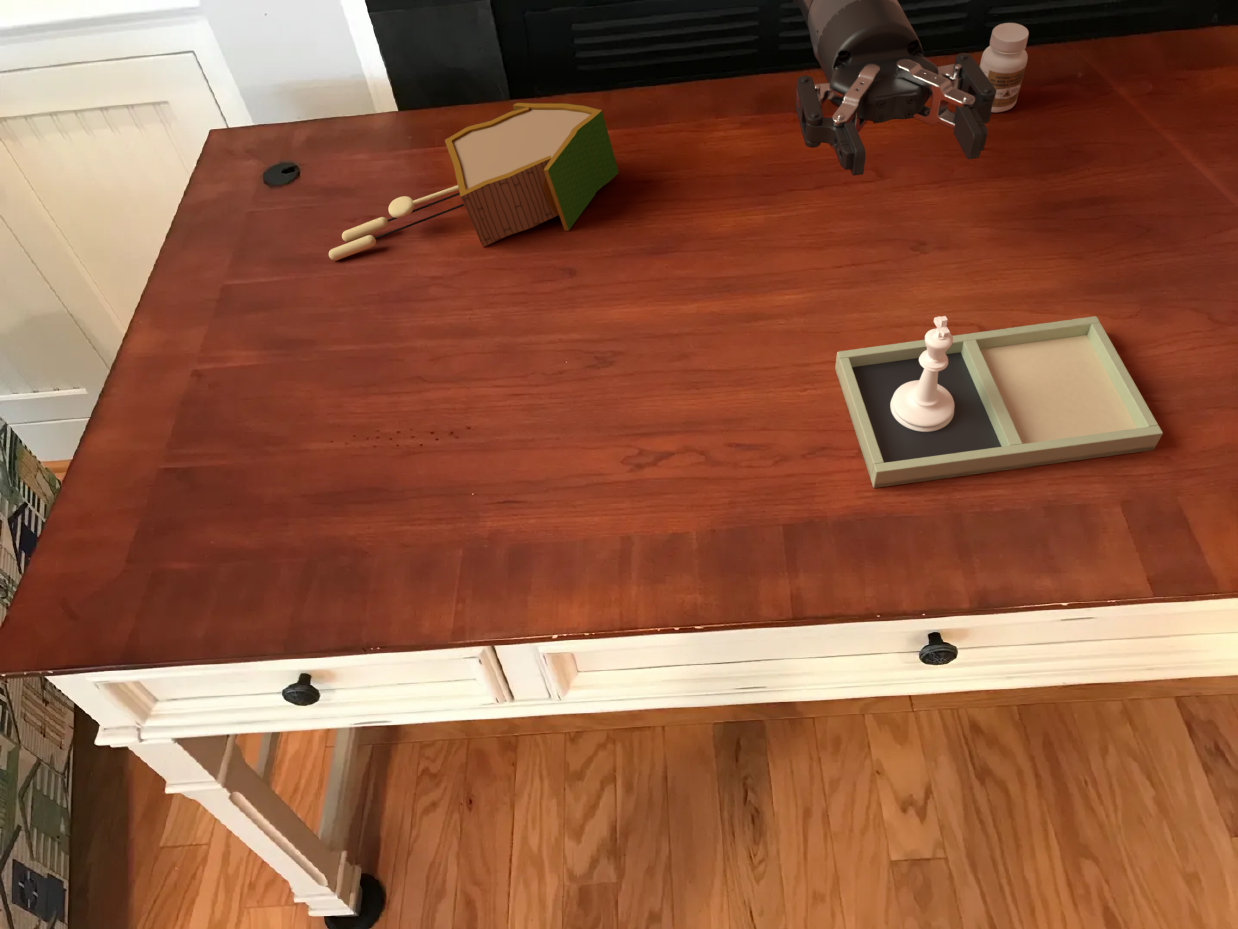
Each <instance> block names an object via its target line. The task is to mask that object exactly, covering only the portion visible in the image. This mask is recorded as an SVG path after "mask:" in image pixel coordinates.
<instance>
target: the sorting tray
mask: <svg viewBox="0 0 1238 929" xmlns="http://www.w3.org/2000/svg"><path fill="white" fill-rule="evenodd" d="M952 336H953V343H952V345H951V346H950V348H949V349H948V350H947V351H946V352H945V354H946V355H947V357H948V365H947V367H946V368H945V369H943V370H941V371H938V380H937V384H939V385H941V386H942V387H944V388H945V389H946V390H947V391H948V392H949V393H950V394H951V396H952V398H953V400H954V415H953V418H952V420H951V421H950V422H949V424H947V425H946V426H945V427H943V428H941V429H939V430H936V431H930V432H921V431H915V430H912V429H909V428H907V427H905V426H903V425H902V424H900V423H899V422H898V421H897V420H896V419H895V418H894V416H893V414H892V412H891V408H890V403H891V399H892V397H893V395H894V393H895V391H896V390H897V389H898V388H899V387H900V386H901V385H903V384H905V383H907V382H910V381H915V380H920V378H921V375H922V373H923V371H924V368H923V367H922V366H921V365H920V363H919V357H920V355H921V354H922V353H923V352H924V351H926V350H927V347H926V344H925V339H919V340H911V341H906V342H905V341H904V342H898V343H890V344H883V345H875V346H869V347H861V348H854V349H847V350H840V351H837V352H836V358H835V365H834V370H835V373H836V376H837V380H838V382H839V385H840V389H841V391H842V395H843V397H844V401H845V404H846V407H847V410H848V414H849V417H850V421H851V423H852V427H853V429H854V433H855V435H856V438H857V442H858V444H859V447H860V448H859V449H860V450H861V454H862V457H863V460H864V463H865V466H866V470H867V472H868V475H869V479H870V481H871V485H872V488H874V489H876V488H883V487H890V486H891V487H892V486H898V485H906V484H913V483H914V484H915V483H921V482H928V481H935V480H943V479H951V478H958V477H965V476H973V475H980V474H987V473H994V472H1001V471H1008V470H1009V471H1010V470H1017V469H1022V468H1023V469H1025V468H1031V467H1038V466H1039V467H1040V466H1044V465H1045V466H1046V465H1053V464H1060V463H1068V462H1074V461H1076V462H1077V461H1082V460H1090V459H1097V458H1104V457H1105V458H1106V457H1111V456H1112V457H1113V456H1120V455H1127V454H1134V453H1141V452H1142V453H1143V452H1148V451H1154V450H1155V449H1156V446H1157V445H1158V443H1159V441H1160V439H1161V438H1162V436H1163V435H1164V434H1163V430H1162V428H1161V427H1160V425H1159V424H1158V422H1157V420H1156V418H1155V416H1154V414H1153V413H1152V411H1151V409H1150V408H1149V405H1148V404H1147V401H1145V399H1144V397H1143V395H1142V394H1141V392H1140V390H1139V388H1138V386H1137V385H1136V383H1135V381H1134V379H1133V377H1132V376H1131V374H1130V372H1129V370H1128V369H1127V367H1126V365H1125V364H1124V362H1123V360H1122V358H1121V356H1120V355H1119V353H1118V351H1117V349H1116V347H1115V346H1114V344H1113V342H1112V341H1111V339H1110V338H1109V337H1110V336H1108V333H1107V332H1106V330H1105V328H1104V326H1103V325H1102V323H1101V321H1100V319H1099V318H1098V316H1096V315H1094V316H1087V317H1080V318H1071V319H1066V320H1057V321H1049V322H1042V323H1035V324H1028V325H1022V326H1021V325H1020V326H1014V327H1007V328H1000V329H999V328H998V329H992V330H984V331H977V332H972V333H970V332H969V333H963V334H956V335H955V334H954V335H952Z"/></svg>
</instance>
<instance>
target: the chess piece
mask: <svg viewBox="0 0 1238 929" xmlns="http://www.w3.org/2000/svg"><path fill="white" fill-rule="evenodd" d="M948 321H949V319H948V318H947V316H946V315H943V316H940V315H938V316H936V317H934V318H933V323H934V325H935V328H932V329H930V330H928V331H927V332H926V333H925V335H924V340H925V344H926V347H927V350H926V351H924V352H923V353H922V354H921V355H920V357H919V363H920V365H921V366H922V367H923V368H924V371H923V373H922V375H921V378H920V380H915V381H910V382H907V383H905V384H903V385H901V386H900V387H899V388H898V389H897V390H896V391H895V393H894V395H893V397H892V399H891V403H890V408H891V412H892V414H893V416H894V418H895V419H896V420H897V421H898V422H899V423H900V424H902V425H903V426H905V427H907V428H909V429H912V430H915V431H921V432H930V431H936V430H939V429H941V428H943V427H945V426H946V425H947V424H949V422H950V421H951V420H952V418H953V415H954V400H953V398H952V396H951V394H950V393H949V392H948V391H947V390H946V389H945V388H944V387H942V386H941V385H939V384H937V380H938V371H941V370H943V369H945V368H946V367H947V365H948V357H947V355H946V354H945V352H946V351H947V350H948V349H949V348H950V346H951V345H952V343H953V336H954V335H952V333H951V331H950V330H949V328H948Z"/></svg>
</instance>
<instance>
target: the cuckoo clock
mask: <svg viewBox="0 0 1238 929" xmlns="http://www.w3.org/2000/svg"><path fill="white" fill-rule="evenodd" d="M512 108H513V110H511V111H509V112H506V113H504V114H502V115H500V116H498V117H495V118H493V119H491V120H489V121H483V122H479V123H476V124H473V125H469V126H466V127H465V128H463V129H461V130H459V131H458V132H456V133H454V134H453V135H451V136H449V137H447V138H446V139H444V142H445V146H446V148H447V152H448V154H449V157H450V160H451V162H452V165H453V169H454V173H455V179H456V183H457V184H456V185H454V186H452V187H449V188H445V189H442V190H440V191H437V192H434V193H431V194H428V195H426V196H422V197H419V198H415V199H413V198H411V197H410V196H408V195H404V196H399V197H396V198H395V199H393V200H392V201H391V202H390V203H389V205H388V214H389V216H391V218H387V217H384V216H380V217H377V218H375V219H373V220H370V221H367V222H364V223H362V224H360V225H357V226H353V227H352V228H349V229H346V230H344V231H343V232H342V234H341V238H342V240H343V241H344V242H345V243H343V244H342V245H339V246H336V247H333V248H331V249H330V250H329V252H328V257H329V259H330V260H331V261H335V262H336V261H339V260H342V259H344V258H347V257H350V256H353V255H355V254H358V253H360V252H363V251H366V250H368V249H371V248H373V247H375V246H376V245H377V240H378V239H381V238H383V237H386V236H389V235H391V234H394V233H397V232H399V231H402V230H405V229H407V228H410V227H412V226H415V225H418V224H421V223H422V222H425V221H429V220H431V219H433V218H436V217H439V216H441V215H444V214H447V213H450V212H452V211H454V210H457V209H460V208H463V207H464V208H465V210H466V212H467V215H468V217H469V219H470V221H471V223H472V227H473V229H474V230H475V232H476V235H477V237H478V240H479V242H480V244H481V246H482V248H485V247H487V246H490V245H491V244H493V243H496V242H497V241H501V239H504V238H506V237H509V236H511V235H515V234H517V233H520V232H523V231H526V230H530V229H532V228H534V227H536V226H538V225H540V224H542V223H544V222H547V221H548V220H549V221H550V220H551V219H554V218H556V217H558V216H559V219H560V222H561V225H562V227H563V230H564V231H565V232H569V231H570V230H571V229H572V227H573V226H574V224H575V223H576V222H577V220H578V219H579V218H580V216H581V215H582V214H583V212H584V211H585V210H586V208H587V207H588V205H589V204H590V202H592V200H593V198H595V196H596V194H597V192H598V191H599V190H600V189H602V188H603V187H604V186H605V185H607V184H608V183H610V182H611V181H612V180H613V179H615V177H616V176H617V175H618V174H619V173H620V172H619V168H618V165H617V159H616V156H615V154H614V149H613V146H612V142H611V139H610V134H609V131H608V127H607V124H606V120H605V116H604V112H603V110H602V109H599V108H595V107H592V106H587V105H579V104H571V103H561V102H560V103H557V102H555V103H549V102H547V103H542V102H541V103H537V102H536V103H530V102H516V103H514V104H512ZM456 191H458V192H457V193H454V192H456ZM451 193H454V194H451ZM447 194H451V195H449V196H445V195H447ZM442 196H445V197H444V198H441V199H438V200H436V201H433V202H430V203H427V204H425V205H422V206H419V207H417V208H415V206H416V205H419V204H422V203H425V202H428V201H430V200H433V199H437V198H439V197H442ZM457 196H459V197H460V199H461V202H462V204H461V203H460V204H459V205H456V206H454V207H451V208H448V209H445V210H443V211H441V212H438V213H436V214H435V213H434V214H432V215H429V216H427V217H425V218H422V219H420V220H416V221H414V222H411V223H409V224H406V225H404V226H401V227H398V228H396V229H393V230H391V231H388V232H386V233H383V234H380V235H378V236H374V235H372V234H375V233H378V232H380V231H383V230H386V229H387V228H388V227H389V224H390V222H392V221H394V220H397V219H401V218H404V217H407V216H409V215H410V214H413V213H415V212H417V211H421V210H424V209H426V208H429V207H432V206H434V205H436V204H439V203H442V202H444V201H446V200H449V199H451V198H455V197H457Z"/></svg>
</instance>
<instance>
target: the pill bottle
mask: <svg viewBox="0 0 1238 929" xmlns="http://www.w3.org/2000/svg"><path fill="white" fill-rule="evenodd" d="M1029 33H1030V32H1029V30H1028V28H1027V27H1026V26H1024V25H1022V24H1020V23H1016V22H1004V23H1000V24H998V25H996V26H995V27H993V29H992V31H991V35H990V39H989V46H988V47H986V48H985V49H984V50H983V52H982V55H981V59H980V63H979V67H980V68H981V70H982V71H983V72H984V74H985V75H986V77H987V78H988V79H989V81H990V82H991V83H992V85H993V86H994V88H995V89H996V95H995V98H994V101H993V105H992V110H991V113H1003V112H1006V111H1009V110H1011V109H1013V108H1014V106H1016V104H1017V101H1018V97H1019V94H1020V90H1021V87H1022V83H1023V79H1024V75H1025V71H1026V69H1027V68H1026V67H1027V64H1028V58H1029V56H1028V53H1027V51H1026V48H1027V44H1028V39H1029Z"/></svg>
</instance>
